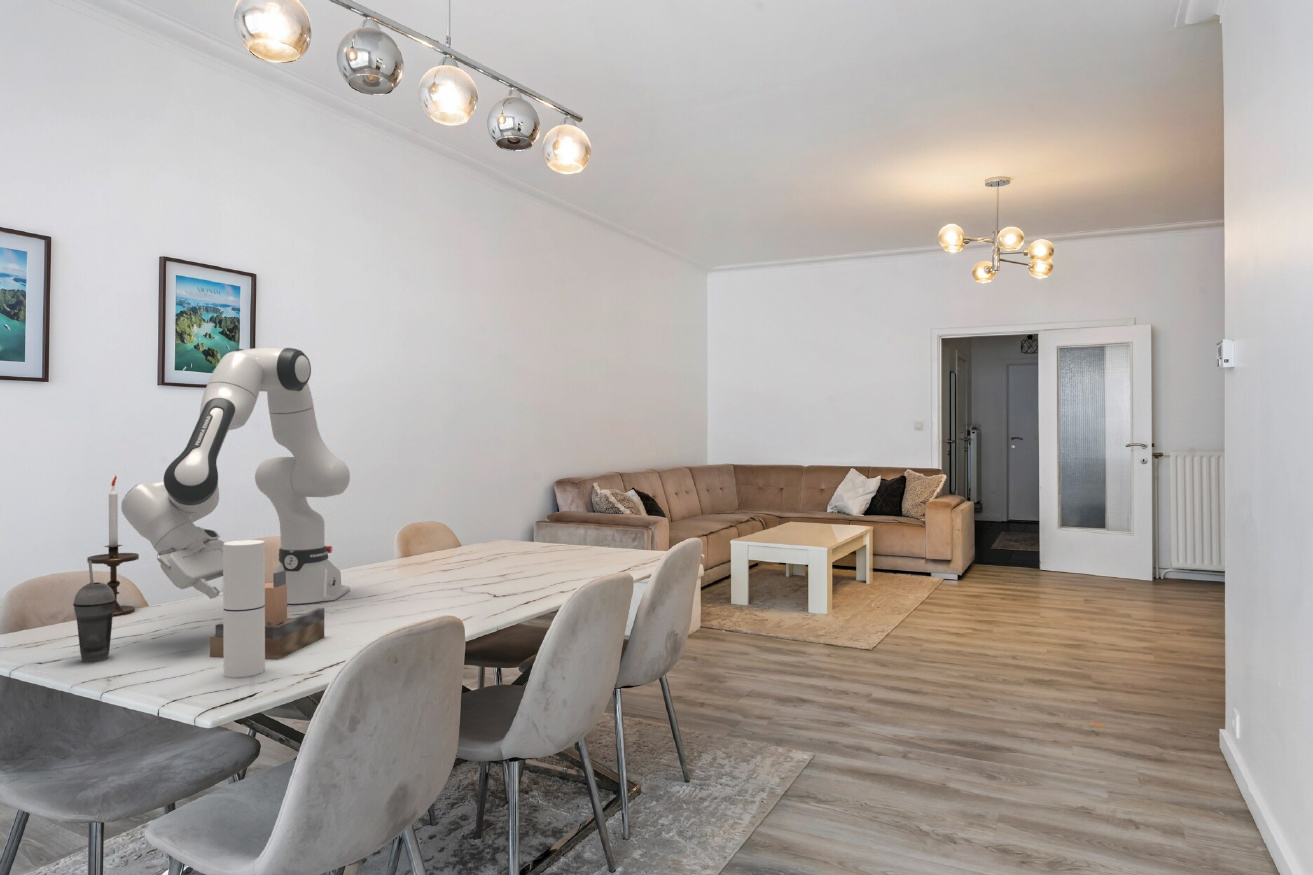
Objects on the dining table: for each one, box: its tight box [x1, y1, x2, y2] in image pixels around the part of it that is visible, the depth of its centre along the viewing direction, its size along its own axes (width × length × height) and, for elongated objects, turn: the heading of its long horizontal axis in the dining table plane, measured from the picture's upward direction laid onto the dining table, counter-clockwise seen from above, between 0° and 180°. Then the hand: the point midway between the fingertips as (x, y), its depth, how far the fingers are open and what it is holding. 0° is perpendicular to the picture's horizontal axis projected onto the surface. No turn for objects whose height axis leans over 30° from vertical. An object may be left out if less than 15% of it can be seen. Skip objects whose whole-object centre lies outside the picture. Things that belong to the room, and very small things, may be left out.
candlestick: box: [86, 474, 140, 617], centre depth 207 cm, size 11×11×35 cm
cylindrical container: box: [222, 539, 266, 679], centre depth 158 cm, size 7×7×25 cm
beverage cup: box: [72, 561, 116, 663], centre depth 166 cm, size 7×7×20 cm
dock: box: [209, 607, 325, 660], centre depth 177 cm, size 18×15×6 cm
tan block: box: [265, 570, 288, 626], centre depth 176 cm, size 5×5×12 cm
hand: (228, 591), depth 177 cm, fingers open, 8 cm apart
